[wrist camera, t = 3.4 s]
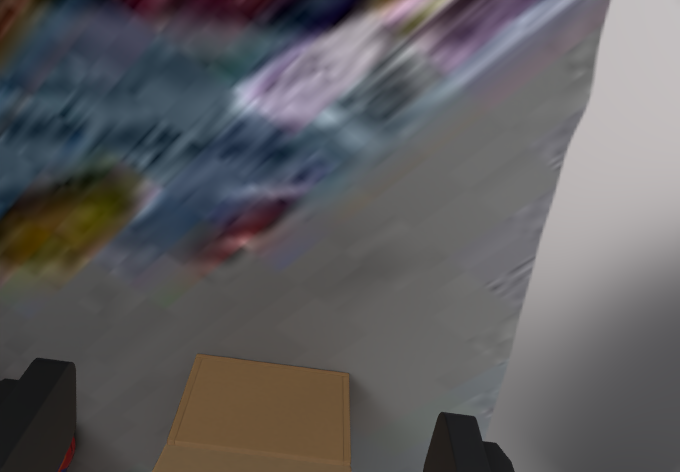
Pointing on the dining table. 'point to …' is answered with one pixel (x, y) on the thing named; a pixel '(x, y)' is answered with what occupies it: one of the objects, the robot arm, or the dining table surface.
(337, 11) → the dining table surface
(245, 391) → the carton
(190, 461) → the flap
